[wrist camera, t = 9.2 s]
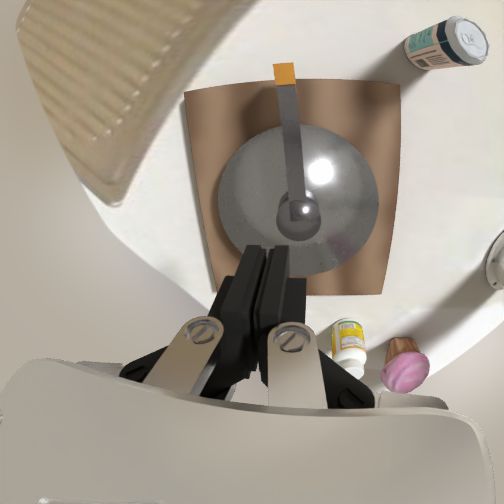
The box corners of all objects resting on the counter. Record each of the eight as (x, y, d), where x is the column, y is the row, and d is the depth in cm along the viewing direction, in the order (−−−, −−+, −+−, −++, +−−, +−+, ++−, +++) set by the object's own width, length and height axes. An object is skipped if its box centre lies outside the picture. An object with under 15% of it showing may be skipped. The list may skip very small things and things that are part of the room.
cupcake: (427, 328, 41) (442, 371, 33) (409, 358, 46) (419, 399, 37) (384, 328, 42) (395, 374, 34) (370, 358, 47) (376, 402, 38)
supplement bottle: (348, 312, 42) (354, 359, 34) (367, 327, 43) (376, 372, 35) (324, 329, 44) (325, 376, 36) (344, 343, 45) (348, 388, 37)
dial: (369, 264, 34) (378, 292, 29) (234, 268, 38) (225, 295, 33) (369, 69, 22) (385, 63, 17) (202, 82, 26) (182, 79, 21)
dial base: (394, 85, 24) (400, 84, 22) (378, 286, 38) (381, 295, 36) (190, 92, 29) (183, 92, 27) (220, 285, 43) (217, 293, 41)
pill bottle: (441, 68, 21) (498, 64, 11) (411, 72, 23) (462, 65, 13) (428, 33, 19) (480, 15, 9) (397, 36, 21) (442, 12, 11)
